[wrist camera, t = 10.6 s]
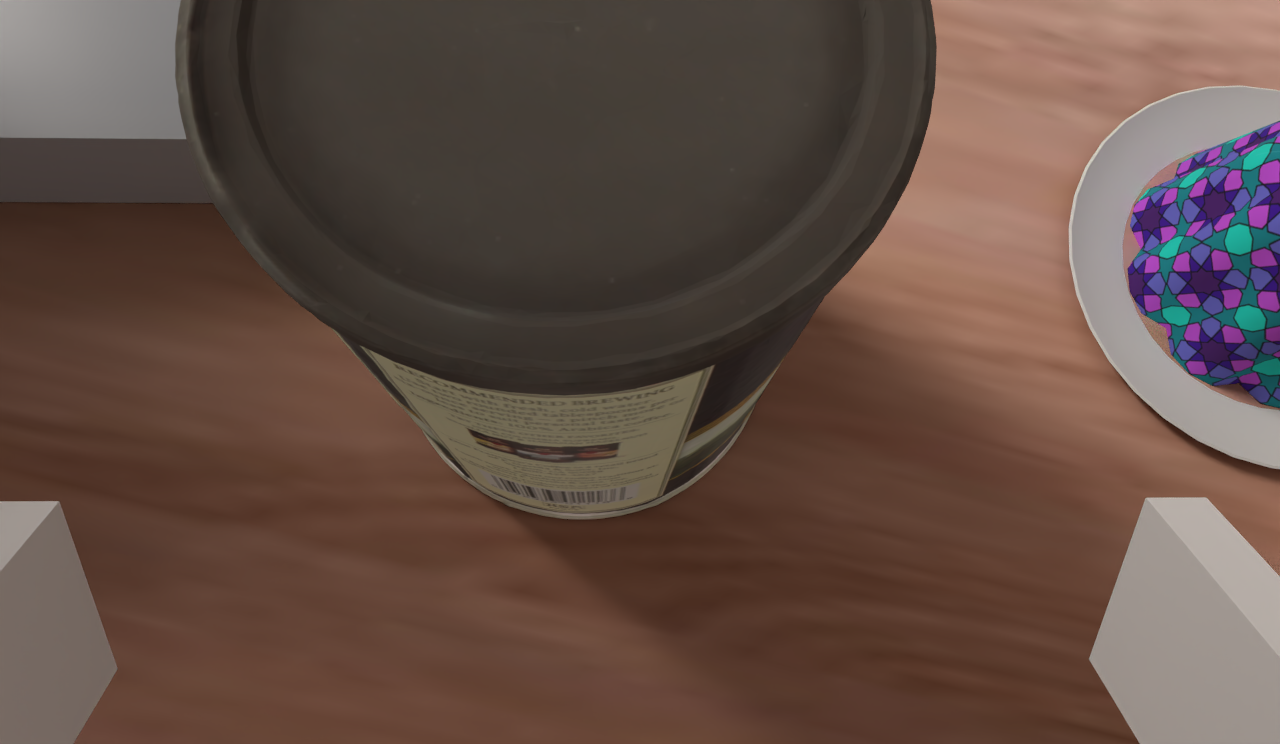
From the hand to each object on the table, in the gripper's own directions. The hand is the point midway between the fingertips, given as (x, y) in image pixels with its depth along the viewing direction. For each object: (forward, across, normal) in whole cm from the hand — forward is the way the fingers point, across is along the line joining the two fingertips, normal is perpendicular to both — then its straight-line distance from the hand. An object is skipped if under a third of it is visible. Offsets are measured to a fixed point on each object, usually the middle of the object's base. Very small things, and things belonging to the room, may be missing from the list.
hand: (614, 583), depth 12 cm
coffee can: (+14, -1, -4) cm, 15 cm away
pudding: (+16, +19, -3) cm, 25 cm away
